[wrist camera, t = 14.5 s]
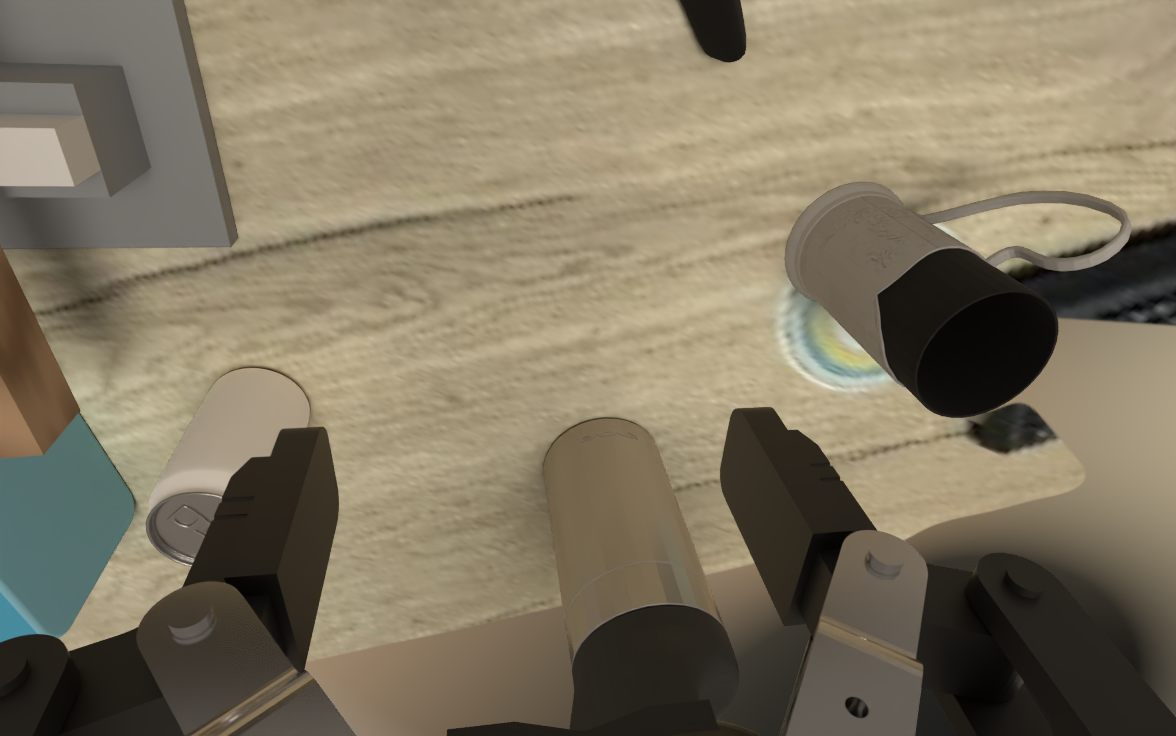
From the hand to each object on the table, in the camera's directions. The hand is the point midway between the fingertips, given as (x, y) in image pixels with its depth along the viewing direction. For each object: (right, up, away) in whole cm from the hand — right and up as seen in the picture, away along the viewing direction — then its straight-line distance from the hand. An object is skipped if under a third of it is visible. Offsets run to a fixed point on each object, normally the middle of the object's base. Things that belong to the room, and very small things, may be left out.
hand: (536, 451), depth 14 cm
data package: (-34, -4, +33) cm, 47 cm away
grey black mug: (+21, +12, +33) cm, 40 cm away
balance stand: (-28, +15, +22) cm, 38 cm away
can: (-21, -1, +33) cm, 39 cm away
